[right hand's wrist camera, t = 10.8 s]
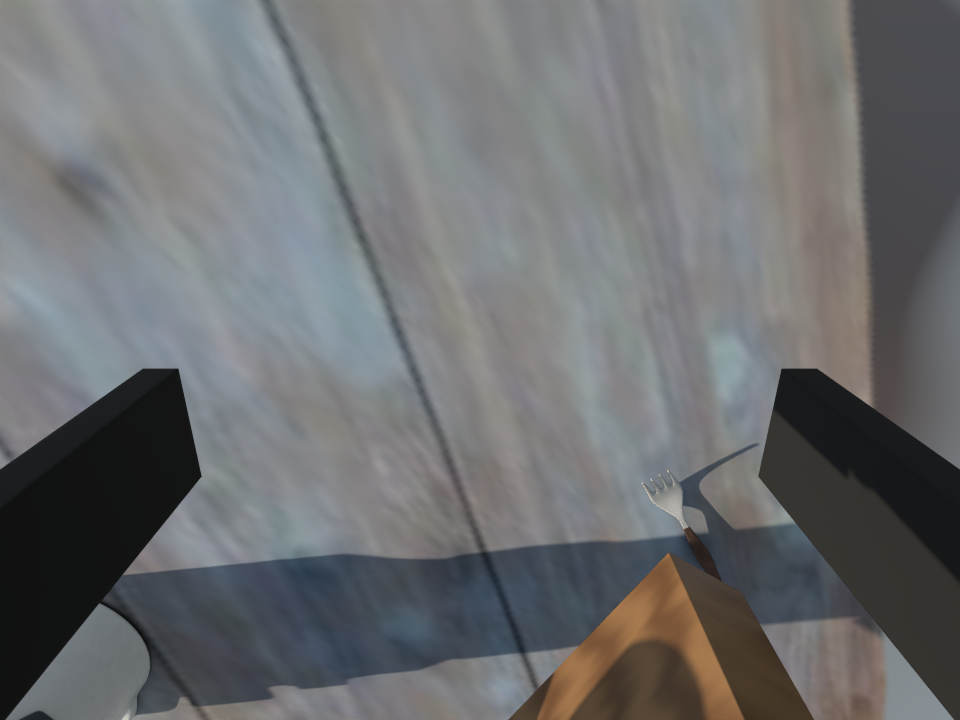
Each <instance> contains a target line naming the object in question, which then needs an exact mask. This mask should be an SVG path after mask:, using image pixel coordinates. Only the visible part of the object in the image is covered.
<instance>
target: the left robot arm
mask: <svg viewBox="0 0 960 720" xmlns="http://www.w3.org/2000/svg"><path fill="white" fill-rule="evenodd" d="M149 672H150V657H149V653H148V650H147V647H146V645H145V643H144V641H143V639H142V638H141V636H140V635H139V634H138V632H137V631H136V630H135V629H134V628H133V627H132V626H131V625H130V624H129V623H128V622H127V621H126V620H125V619H124V618H123V617H121V616H120V615H119V614H117V613H116V612H114V611H113V610H111V609H109V608H108V607H106V606H104V605H102V604H100V603H99V604H98V606H97V607H96V608H95V609H94V611H93V612H92V613H91V614H90V616H89V617H88V618H87V619H86V621H85V622H84V623H83V624H82V626H81V627H80V628H79V629H78V631H77V632H76V633H75V634H74V636H73V637H72V638H71V639H70V640H69V642H68V643H67V644H66V645H65V647H64V648H63V649H62V650H61V652H60V653H59V654H58V655H57V657H56V658H55V659H54V660H53V662H52V663H51V664H50V665H49V667H48V668H47V669H46V670H45V672H44V673H43V674H42V675H41V677H40V678H39V679H38V680H37V681H36V683H35V684H34V685H33V686H32V688H31V689H30V690H29V691H28V693H27V694H26V695H25V696H24V698H23V699H22V700H21V701H20V703H19V704H18V705H17V706H16V708H15V709H14V710H13V711H12V713H11V714H10V715H9V716H8V717H7V719H6V720H132V718H133V717H134V715H135V714H136V712H137V695H138V693H139V691H140V690H141V688H142V687H143V685H144V684H145V682H146V681H147V678H148V676H149Z"/></svg>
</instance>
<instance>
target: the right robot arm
mask: <svg viewBox="0 0 960 720" xmlns="http://www.w3.org/2000/svg"><path fill="white" fill-rule="evenodd" d="M201 477H202V476H201V471H200V467H199V462H198V458H197V453H196V448H195V444H194V439H193V434H192V430H191V425H190V421H189V416H188V411H187V407H186V402H185V397H184V393H183V388H182V384H181V379H180V374H179V370H178V369H142V370H140V371H139V372H138V373H136V374H135V375H133V376H132V377H131V378H129V379H128V380H126V381H125V382H124V383H122V384H121V385H119V386H118V387H116V388H115V389H114V390H112V391H111V392H109V393H108V394H107V395H105V396H104V397H102V398H101V399H99V400H98V401H97V402H95V403H94V404H92V405H91V406H90V407H88V408H87V409H85V410H84V411H82V412H81V413H80V414H78V415H77V416H75V417H74V418H73V419H71V420H70V421H68V422H67V423H65V424H64V425H63V426H61V427H60V428H58V429H57V430H56V431H54V432H53V433H51V434H50V435H48V436H47V437H46V438H44V439H43V440H41V441H40V442H39V443H37V444H36V445H34V446H33V447H31V448H30V449H29V450H27V451H26V452H24V453H23V454H22V455H20V456H19V457H17V458H16V459H14V460H13V461H12V462H10V463H9V464H7V465H6V466H5V467H3V468H2V469H0V720H6V719H7V717H8V716H9V715H10V714H11V713H12V711H13V710H14V709H15V708H16V706H17V705H18V704H19V703H20V701H21V700H22V699H23V698H24V696H25V695H26V694H27V693H28V691H29V690H30V689H31V688H32V686H33V685H34V684H35V683H36V681H37V680H38V679H39V678H40V677H41V675H42V674H43V673H44V672H45V670H46V669H47V668H48V667H49V665H50V664H51V663H52V662H53V660H54V659H55V658H56V657H57V655H58V654H59V653H60V652H61V650H62V649H63V648H64V647H65V645H66V644H67V643H68V642H69V640H70V639H71V638H72V637H73V636H74V634H75V633H76V632H77V631H78V629H79V628H80V627H81V626H82V624H83V623H84V622H85V621H86V619H87V618H88V617H89V616H90V614H91V613H92V612H93V611H94V609H95V608H96V607H97V606H98V604H99V603H100V602H101V601H102V600H103V598H104V597H105V596H106V595H107V593H108V592H109V591H110V590H111V588H112V587H113V586H114V585H115V583H116V582H117V581H118V580H119V578H120V577H121V576H122V575H123V573H124V572H125V571H126V570H127V568H128V567H129V566H130V565H131V563H132V562H133V561H134V560H135V559H136V557H137V556H138V555H139V554H140V552H141V551H142V550H143V549H144V547H145V546H146V545H147V544H148V542H149V541H150V540H151V539H152V537H153V536H154V535H155V534H156V532H157V531H158V530H159V529H160V527H161V526H162V525H163V524H164V523H165V521H166V520H167V519H168V518H169V516H170V515H171V514H172V513H173V511H174V510H175V509H176V508H177V506H178V505H179V504H180V503H181V501H182V500H183V499H184V498H185V496H186V495H187V494H188V493H189V491H190V490H191V489H192V488H193V487H194V485H195V484H196V483H197V482H198V480H199V479H200V478H201ZM758 477H759V478H760V479H761V480H762V482H763V483H764V484H765V485H766V487H767V488H768V489H769V490H770V491H771V493H772V494H773V495H774V496H775V498H776V499H777V500H778V501H779V503H780V504H781V505H782V506H783V508H784V509H785V510H786V511H787V513H788V514H789V515H790V516H791V518H792V519H793V520H794V521H795V523H796V524H797V525H798V526H799V527H800V529H801V530H802V531H803V532H804V534H805V535H806V536H807V537H808V539H809V540H810V541H811V542H812V544H813V545H814V546H815V547H816V549H817V550H818V551H819V552H820V554H821V555H822V556H823V557H824V559H825V560H826V561H827V562H828V564H829V565H830V566H831V567H832V568H833V570H834V571H835V572H836V573H837V575H838V576H839V577H840V578H841V580H842V581H843V582H844V583H845V585H846V586H847V587H848V588H849V590H850V591H851V592H852V593H853V595H854V596H855V597H856V598H857V600H858V601H859V602H860V603H861V604H862V606H863V607H864V608H865V609H866V611H867V612H868V613H869V614H870V616H871V617H872V618H873V619H874V621H875V622H876V623H877V624H878V626H879V627H880V628H881V629H882V631H883V632H884V633H885V634H886V636H887V637H888V638H889V639H890V640H891V642H892V643H893V644H894V645H895V647H896V648H897V649H898V650H899V652H900V653H901V654H902V655H903V657H904V658H905V659H906V660H907V662H908V663H909V664H910V665H911V667H912V668H913V669H914V670H915V671H916V673H917V674H918V675H919V677H920V678H921V679H922V680H923V681H924V683H925V684H926V685H927V686H928V688H929V689H930V690H931V691H932V693H933V694H934V695H935V696H936V698H937V699H938V700H939V701H940V703H941V704H942V705H943V706H944V708H945V709H946V710H947V711H948V713H949V714H950V715H951V716H952V717H953V719H954V720H960V469H958V468H957V467H955V466H954V465H953V464H951V463H950V462H948V461H947V460H945V459H944V458H943V457H941V456H940V455H938V454H937V453H936V452H934V451H933V450H931V449H930V448H929V447H927V446H926V445H924V444H923V443H921V442H920V441H919V440H917V439H916V438H914V437H913V436H912V435H910V434H909V433H907V432H906V431H904V430H903V429H902V428H900V427H899V426H897V425H896V424H894V423H893V422H892V421H890V420H889V419H887V418H886V417H884V416H883V415H882V414H880V413H879V412H877V411H876V410H875V409H873V408H872V407H870V406H869V405H868V404H866V403H865V402H863V401H862V400H861V399H859V398H858V397H856V396H855V395H853V394H852V393H851V392H849V391H848V390H846V389H845V388H844V387H842V386H841V385H839V384H838V383H836V382H835V381H834V380H832V379H831V378H829V377H828V376H827V375H825V374H824V373H822V372H821V371H820V370H818V369H782V370H781V374H780V379H779V384H778V388H777V393H776V397H775V402H774V407H773V411H772V416H771V421H770V425H769V430H768V434H767V439H766V444H765V448H764V453H763V458H762V462H761V467H760V471H759V476H758Z"/></svg>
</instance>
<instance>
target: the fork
mask: <svg viewBox="0 0 960 720" xmlns="http://www.w3.org/2000/svg"><path fill="white" fill-rule="evenodd" d="M667 471H668V473H669V475H670V478H671V480H672V484H668V483H667V482H666V480H665V479H664V478H663V477H662V476H661V475H660V474H659V476H660V478H661V480H662V483H663V485H664V488H660V487H659V486H658V485H657V484H656V483H655V482H654V480H653V479H651V481H652V483H653V485H654V487H655V489H656V491H655V492H652V491H651V490H650V489H649V488H648V487H647V486H646V485H645V484H644V483H643V482H642V484H643V486H644V488H645V490H646V491H647V493H648V495H649V497H650V499H651V501H652V502H653V503H654V504H655V505H657V506H658V507H660V508H661V509H663V510H665V511H666V512H668V513H670V514H672V515H673V516H675V517H676V518H677V519H678V520H679V521H680V523H681V525H682V527H683V529H684V531H685V534H686V536H687V539H688V541H689V544H690V546H691V548H692V550H693V553H694V555H695V557H696V558H697V560H698V561H699V563H700V564H701V566H702V567H703V568H704V570H705V571H706V572H707V573H708V574H709V575H711V576H713V577H715V578H716V579H718V580H720V581H722V580H721V578H720V576H719V573H718V571H717V569H716V566H715V564H714V561H713V559H712V557H711V555H710V553H709V552H708V550H707V549H706V547H705V546H704V545H703V543H702V542H701V541H700V539H699V538H698V537H697V536H696V534H695V533H694V532H693V531H692V529H691V528H690V527H689V525H688V524H687V523H686V521H685V520H684V518H683V512H682V509H683V490H682V487H681V485H680V483H679V482H678V481H677V480H676V478H675V477H674V476H673V475H672V473H671V472H670V471H669V470H667Z"/></svg>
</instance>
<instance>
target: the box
mask: <svg viewBox="0 0 960 720" xmlns="http://www.w3.org/2000/svg"><path fill="white" fill-rule="evenodd" d="M509 720H814V719H813V717H812V715H811V713H810V712H809V710H808V708H807V706H806V705H805V703H804V701H803V699H802V698H801V696H800V694H799V692H798V691H797V689H796V687H795V685H794V684H793V682H792V680H791V678H790V677H789V675H788V673H787V671H786V670H785V668H784V666H783V664H782V663H781V661H780V659H779V657H778V656H777V654H776V652H775V650H774V649H773V647H772V645H771V643H770V642H769V640H768V638H767V636H766V634H765V633H764V631H763V629H762V627H761V626H760V624H759V622H758V620H757V619H756V617H755V615H754V613H753V612H752V610H751V608H750V606H749V605H748V603H747V601H746V599H745V598H744V596H743V594H742V592H740V591H738V590H736V589H735V588H733V587H731V586H729V585H727V584H725V583H724V582H722V581H720V580H718V579H716V578H715V577H713V576H711V575H709V574H707V573H706V572H704V571H702V570H700V569H698V568H696V567H695V566H693V565H691V564H689V563H687V562H686V561H684V560H682V559H680V558H678V557H677V556H675V555H673V554H671V553H668V554H667V555H666V556H665V557H664V558H663V559H662V560H661V561H660V562H659V563H658V564H657V565H656V566H655V567H654V569H653V570H652V571H651V572H650V573H649V574H648V575H647V576H646V577H645V578H644V579H643V580H642V581H641V582H640V583H639V584H638V585H637V586H636V587H635V588H634V589H633V590H632V591H631V592H630V594H629V595H628V596H627V597H626V598H625V599H624V600H623V601H622V602H621V603H620V604H619V605H618V606H617V607H616V608H615V609H614V610H613V611H612V612H611V613H610V614H609V615H608V616H607V618H606V619H605V620H604V621H603V622H602V623H601V624H600V625H599V626H598V627H597V628H596V629H595V630H594V631H593V632H592V633H591V634H590V635H589V636H588V637H587V638H586V639H585V640H584V641H583V643H582V644H581V645H580V646H579V647H578V648H577V649H576V650H575V651H574V652H573V653H572V654H571V655H570V656H569V657H568V658H567V659H566V660H565V661H564V662H563V663H562V664H561V665H560V667H559V668H558V669H557V670H556V671H555V672H554V673H553V674H552V675H551V676H550V677H549V678H548V679H547V680H546V681H545V682H544V683H543V684H542V685H541V686H540V687H539V688H538V689H537V690H536V692H535V693H534V694H533V695H532V696H531V697H530V698H529V699H528V700H527V701H526V702H525V703H524V704H523V705H522V706H521V707H520V708H519V709H518V710H517V711H516V712H515V713H514V714H513V716H512V717H511V718H510V719H509Z"/></svg>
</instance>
